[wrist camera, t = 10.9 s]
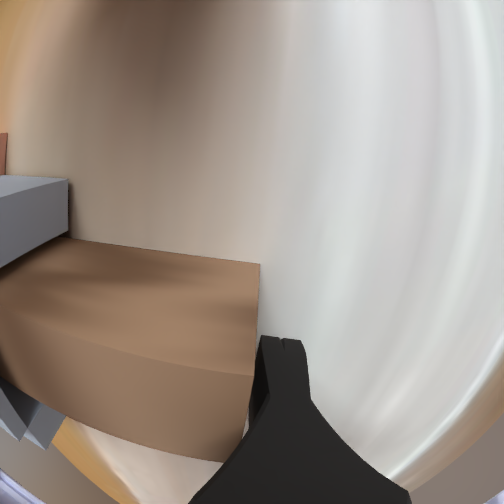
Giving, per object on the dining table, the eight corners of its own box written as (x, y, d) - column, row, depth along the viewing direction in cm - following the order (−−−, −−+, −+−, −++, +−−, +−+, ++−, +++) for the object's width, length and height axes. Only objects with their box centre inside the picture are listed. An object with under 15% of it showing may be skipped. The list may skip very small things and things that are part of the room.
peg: (259, 264, 9) (254, 376, 4) (246, 354, 10) (236, 464, 6) (22, 231, 9) (-55, 273, 4) (37, 305, 10) (-21, 359, 6)
